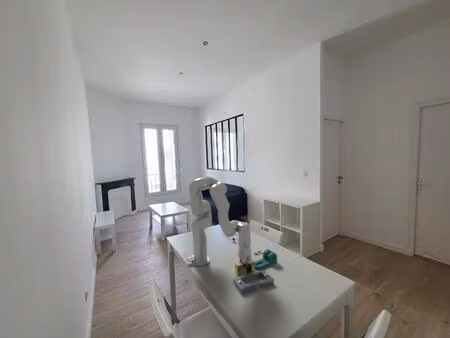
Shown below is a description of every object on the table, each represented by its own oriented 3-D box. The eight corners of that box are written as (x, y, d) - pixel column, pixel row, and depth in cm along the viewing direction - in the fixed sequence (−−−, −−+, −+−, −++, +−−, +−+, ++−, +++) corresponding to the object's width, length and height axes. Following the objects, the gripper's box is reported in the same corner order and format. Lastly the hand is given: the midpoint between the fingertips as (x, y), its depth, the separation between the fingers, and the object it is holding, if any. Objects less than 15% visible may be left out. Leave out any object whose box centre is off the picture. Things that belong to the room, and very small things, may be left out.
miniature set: (218, 233, 194) (229, 231, 200) (241, 249, 165) (253, 247, 171) (219, 226, 193) (230, 225, 200) (242, 241, 164) (254, 240, 171)
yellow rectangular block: (237, 276, 127) (237, 265, 126) (235, 273, 131) (234, 262, 130) (254, 272, 131) (254, 261, 131) (251, 268, 135) (251, 258, 135)
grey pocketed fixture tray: (241, 294, 111) (240, 287, 111) (233, 282, 121) (233, 276, 121) (273, 284, 119) (273, 278, 118) (264, 274, 128) (264, 268, 128)
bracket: (270, 258, 147) (270, 248, 146) (277, 262, 141) (277, 252, 141) (250, 266, 138) (250, 255, 137) (256, 271, 132) (256, 259, 132)
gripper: (233, 238, 136) (234, 263, 137) (245, 249, 120) (246, 277, 121) (243, 236, 139) (244, 260, 140) (256, 246, 123) (257, 274, 124)
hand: (245, 268), depth 131 cm, fingers open, 9 cm apart
